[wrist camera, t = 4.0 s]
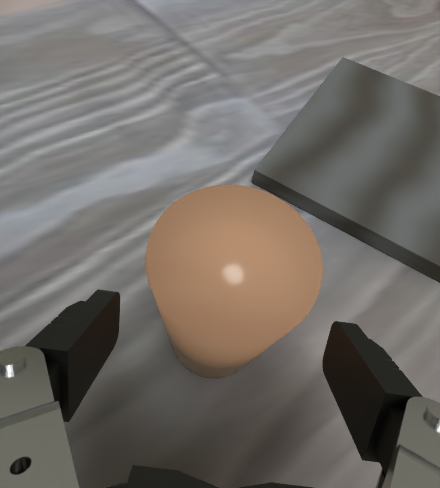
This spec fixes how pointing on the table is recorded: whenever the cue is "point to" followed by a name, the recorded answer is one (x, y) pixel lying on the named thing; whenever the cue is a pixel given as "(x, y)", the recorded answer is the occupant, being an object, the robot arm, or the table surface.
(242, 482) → the table surface
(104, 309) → the robot arm
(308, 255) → the tan dome-topped cylinder
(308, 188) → the charcoal board
